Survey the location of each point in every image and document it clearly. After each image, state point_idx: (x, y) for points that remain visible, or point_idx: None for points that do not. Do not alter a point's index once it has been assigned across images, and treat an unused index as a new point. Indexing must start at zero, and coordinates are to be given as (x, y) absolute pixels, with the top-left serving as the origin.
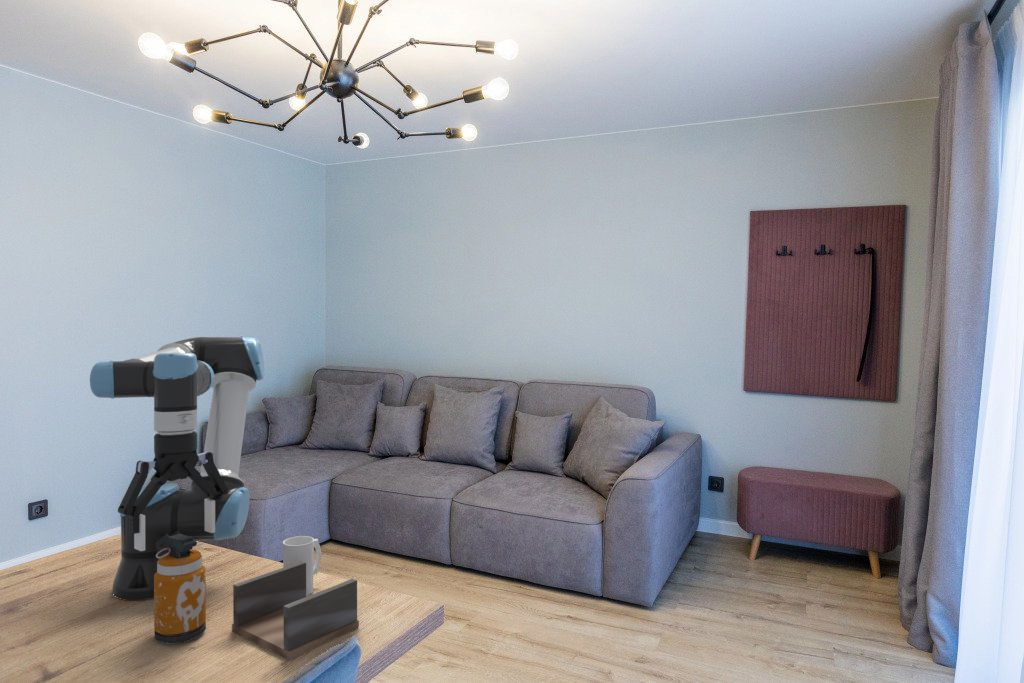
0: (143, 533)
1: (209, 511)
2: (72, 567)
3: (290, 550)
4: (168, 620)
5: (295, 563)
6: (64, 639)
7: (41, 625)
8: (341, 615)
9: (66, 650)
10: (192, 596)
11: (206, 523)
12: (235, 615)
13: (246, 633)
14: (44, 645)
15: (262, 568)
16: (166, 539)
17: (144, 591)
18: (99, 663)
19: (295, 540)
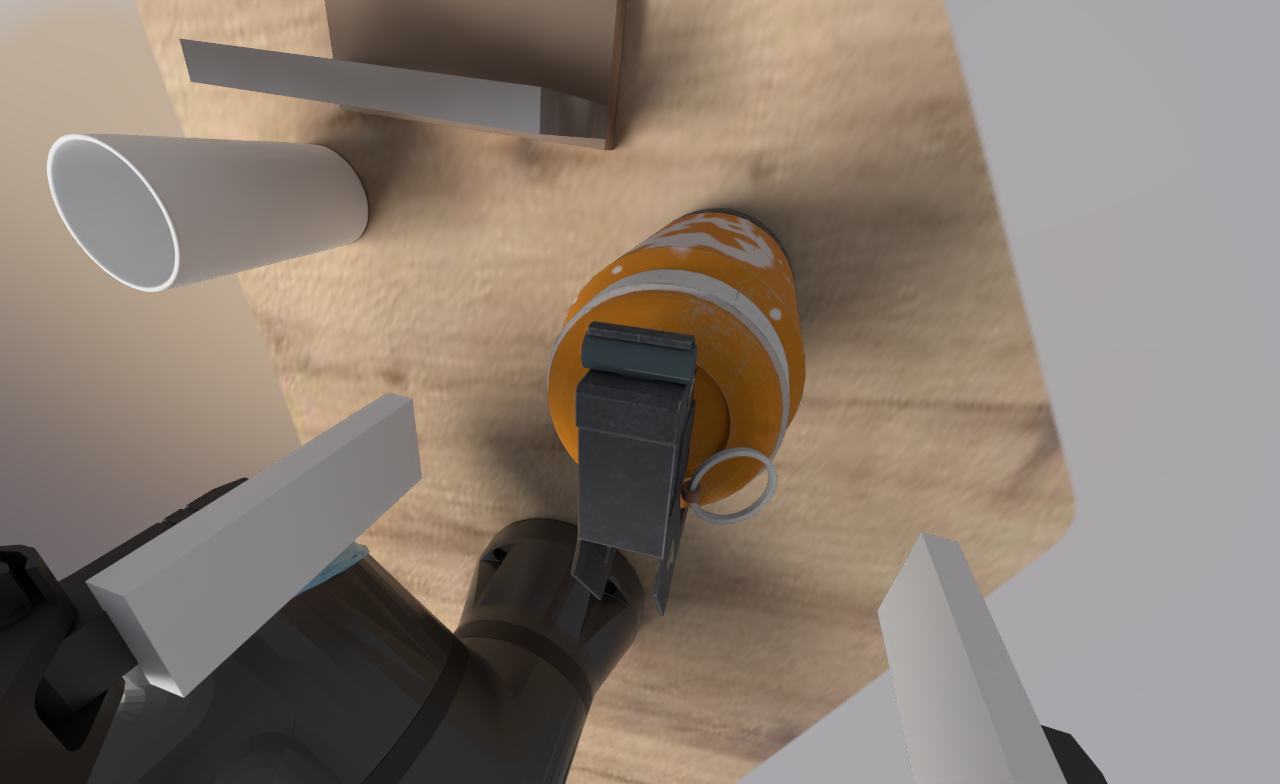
0: (994, 673)
1: (273, 532)
2: (595, 764)
3: (185, 195)
4: (789, 274)
5: (222, 85)
6: (860, 553)
7: (821, 645)
8: None
9: (911, 503)
10: (709, 231)
11: (378, 493)
12: (593, 120)
13: (617, 33)
14: None
15: None
16: (665, 561)
17: None
18: (953, 358)
19: (136, 272)
